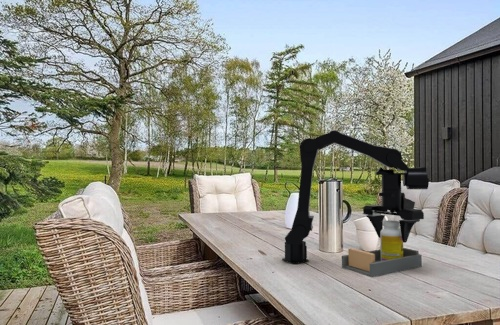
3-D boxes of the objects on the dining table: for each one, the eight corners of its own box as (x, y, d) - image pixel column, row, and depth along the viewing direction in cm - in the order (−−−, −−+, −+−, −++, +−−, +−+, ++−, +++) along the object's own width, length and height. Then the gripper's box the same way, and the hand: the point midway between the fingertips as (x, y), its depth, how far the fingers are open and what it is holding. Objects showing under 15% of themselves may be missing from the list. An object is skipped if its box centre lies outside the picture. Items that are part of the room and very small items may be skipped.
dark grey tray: (372, 277, 108) (372, 260, 108) (341, 267, 118) (341, 252, 118) (421, 266, 118) (421, 251, 119) (389, 258, 129) (389, 244, 129)
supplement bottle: (405, 266, 117) (404, 223, 117) (382, 265, 118) (381, 222, 118) (401, 260, 123) (400, 220, 123) (379, 260, 125) (378, 219, 125)
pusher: (372, 272, 110) (371, 254, 110) (348, 265, 118) (348, 248, 118) (375, 271, 111) (374, 254, 111) (351, 264, 119) (351, 248, 119)
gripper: (435, 189, 117) (436, 242, 117) (385, 187, 133) (386, 233, 133) (410, 191, 111) (411, 246, 111) (361, 188, 128) (362, 236, 127)
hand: (392, 240), depth 121 cm, fingers open, 9 cm apart
